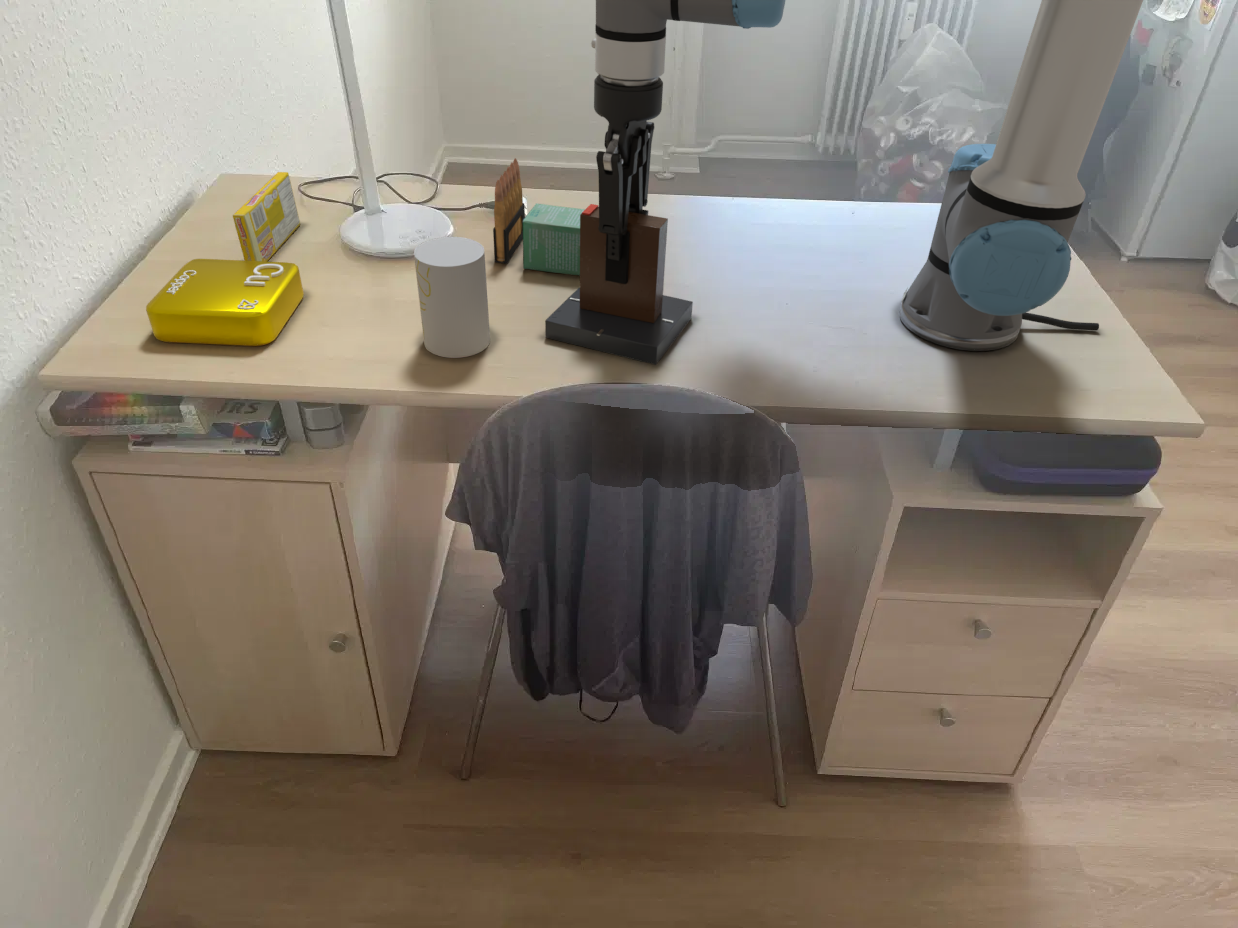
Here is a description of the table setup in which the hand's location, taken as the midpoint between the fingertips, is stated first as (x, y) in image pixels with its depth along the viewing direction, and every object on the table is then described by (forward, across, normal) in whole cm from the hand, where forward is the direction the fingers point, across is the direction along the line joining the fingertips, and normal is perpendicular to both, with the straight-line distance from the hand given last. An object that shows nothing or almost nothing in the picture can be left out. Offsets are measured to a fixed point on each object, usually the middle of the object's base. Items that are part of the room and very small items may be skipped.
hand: (621, 274), depth 114 cm
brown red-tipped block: (+5, 0, 0) cm, 5 cm away
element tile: (+8, +16, -47) cm, 50 cm away
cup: (+8, +11, -18) cm, 22 cm away
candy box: (+8, -3, -55) cm, 56 cm away
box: (+8, -15, -12) cm, 21 cm away
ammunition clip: (+8, -16, -23) cm, 29 cm away
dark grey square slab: (+8, 0, 0) cm, 8 cm away
